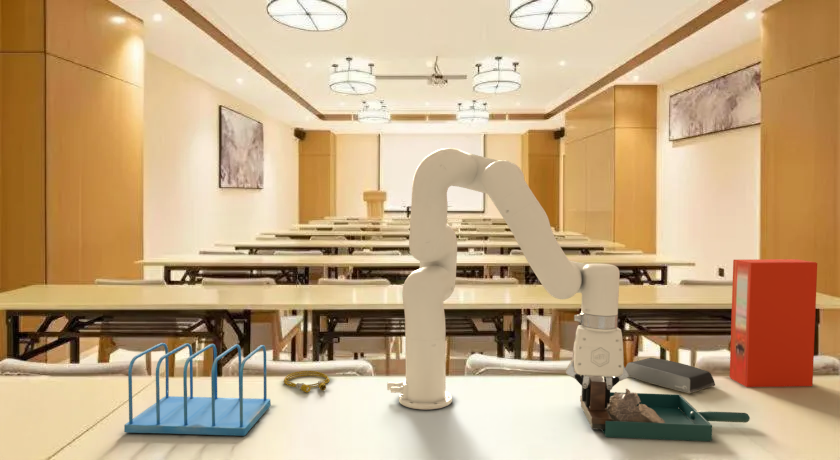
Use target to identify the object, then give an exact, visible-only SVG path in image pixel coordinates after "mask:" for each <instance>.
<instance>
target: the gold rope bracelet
mask: <svg viewBox="0 0 840 460" xmlns="http://www.w3.org/2000/svg"><path fill="white" fill-rule="evenodd" d="M307 376H308V377H309V376H311V377H320V378H324V380H318V381H317V382H316V383H312V384H311V383H310V384H306V383H304V382H297V383H294V382H292V381H289V380H292V379H295V378H300V377H307ZM283 383H284V384H285V385H287V386H288V387H290V388H291V387H292V388H297V389H298V390H299V391H301V392H304V393H309V392H311V391H312V388H317V387H318V389H320V390H321V391H326V390H327V384H328V383H330V378H329V376H328V375H327V374H325V373H323V372H320V371H316V370H299V371H295V372H291V373H290V374H288V375H286V376H285V377H284V380H283Z"/></svg>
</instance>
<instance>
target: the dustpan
mask: <svg viewBox="0 0 840 460" xmlns="http://www.w3.org/2000/svg"><path fill="white" fill-rule="evenodd" d="M616 392H617V391H616ZM617 393H620V394H621V393H622V392H617ZM623 393H624V394H625V393H626V392H623ZM636 393H637V394H638V396H639V398H640V401H641V402H639V404H643V405H644V404H645V405H646V406H647V407H648V408H651V409H653V410H654V411H655V412H656V414H657V415H658V416H659V417H660V418H662V419H663V420H664V421H665V423H651V422H625V421H613V420H612V421H606V423H605V430H602V429H601V431H602V433H603V435H604V437H605V438H617V439H618V438H619V439H642V440H643V439H645V440H665V441H666V440H667V441H689V442H690V441H691V442H692V441H693V442H710V441H713V425H712V423H710V422H721V423H743V424H744V423H746V424H747V423H748V422H750V420H751V418H750V415H749V414H748V413H746V412H741V411H740V412H737V411H736V412H735V411H711V410H709V411H707V410H697V409H696V407H694V406H693V405H692V404H690V402H688V401H687V400H686V399H685V398H684V396H682V394H677V393H676V394H674V393H673V394H672V393H646V392H644V393H643V392H636ZM614 394H615V393H614V392H613V391H610V398H611V396H614ZM639 404H637V406H639Z"/></svg>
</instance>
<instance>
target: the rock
mask: <svg viewBox="0 0 840 460" xmlns="http://www.w3.org/2000/svg"><path fill="white" fill-rule="evenodd" d="M614 393H615V394H614V396H611V398H610V403H607V408H605V409H606V411H607V412H608V414H609V416H610V417H611V419H612V420H613V421H625V422H651V423H665V421H664V420H663V419H662V418H660V417H659V416H658V415H657V414H656V412H655V411H654V410H653V409H651V408H648V407H647V406H646V405H645V404H644V405H643V404H639V402H641V401H640V398H639V396H638V394H637V393H638V392H631V390H630V389H628V388H625V392H618V393H617V391H615V392H614ZM620 393H621V394H620ZM624 393H625V394H624ZM637 404H639V406H637Z"/></svg>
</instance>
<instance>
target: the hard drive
mask: <svg viewBox="0 0 840 460" xmlns="http://www.w3.org/2000/svg"><path fill="white" fill-rule="evenodd" d="M625 365H626V366H624V367H625V369H626V371H627V373H628V378H629V377H630V378H632V379H636V380H639V381H642V382H645V383H647V384H648V383H649V384H653V385H656V386H659V387H662V388H667V389H670V390H674V391H678V392H681V393H686V394H692V393H696V392H699V391H702V390H706V389H709V388H711V387H714V386H716V383H715V379H714V377H713V375H712V373H711V372H710V371H707V370H705V369H702V368H699V367H695V366H692V365H688V364H686V363H681V362H677V361H672V360H667V359H663V358H657V357H647V358H643V359H641V360H640V359H639V360H635V361H631V362H630V361H629V362H627V364H625Z"/></svg>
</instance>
